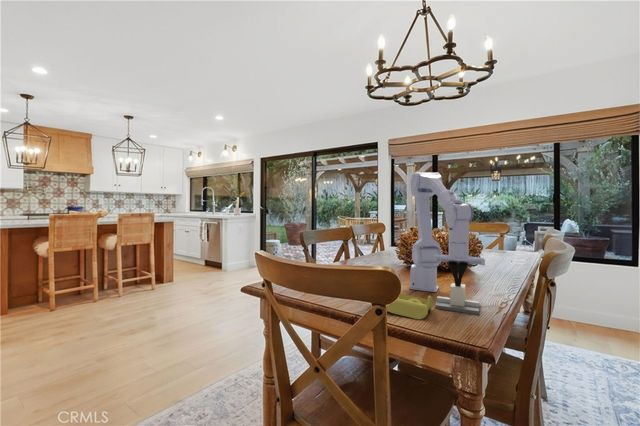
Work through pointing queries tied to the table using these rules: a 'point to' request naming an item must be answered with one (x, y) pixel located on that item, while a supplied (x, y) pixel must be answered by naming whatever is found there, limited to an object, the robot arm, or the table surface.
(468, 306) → the rail board
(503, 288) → the table surface
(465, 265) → the robot arm
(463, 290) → the block
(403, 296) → the plastic component
